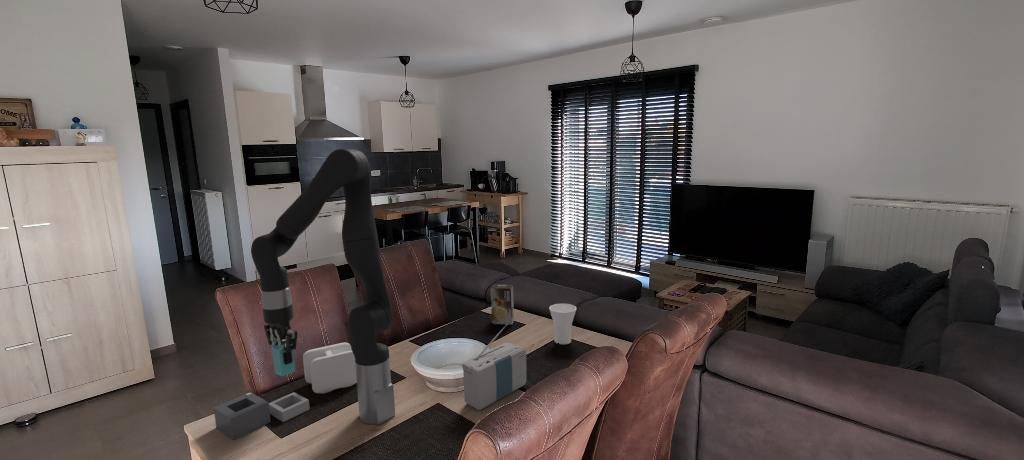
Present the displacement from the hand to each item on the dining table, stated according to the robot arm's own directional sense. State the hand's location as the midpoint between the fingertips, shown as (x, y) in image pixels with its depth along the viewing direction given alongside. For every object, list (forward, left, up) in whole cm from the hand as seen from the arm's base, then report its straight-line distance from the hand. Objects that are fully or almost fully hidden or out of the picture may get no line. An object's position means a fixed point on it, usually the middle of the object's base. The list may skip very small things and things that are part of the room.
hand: (283, 361), depth 137 cm
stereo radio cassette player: (-44, -41, -16) cm, 62 cm away
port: (+4, +11, -16) cm, 20 cm away
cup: (-41, -88, -16) cm, 98 cm away
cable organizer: (+4, -17, -16) cm, 24 cm away
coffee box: (-9, -92, -16) cm, 94 cm away
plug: (0, 0, -3) cm, 3 cm away
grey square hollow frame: (0, 0, -16) cm, 16 cm away
